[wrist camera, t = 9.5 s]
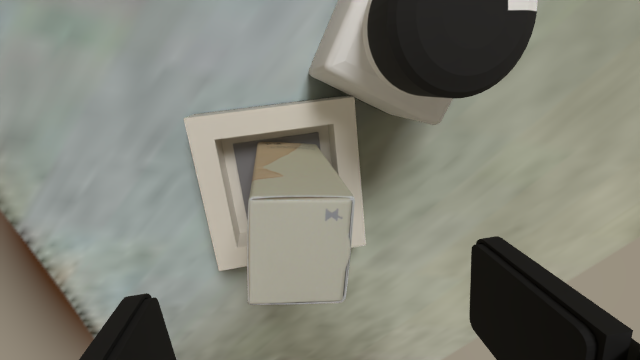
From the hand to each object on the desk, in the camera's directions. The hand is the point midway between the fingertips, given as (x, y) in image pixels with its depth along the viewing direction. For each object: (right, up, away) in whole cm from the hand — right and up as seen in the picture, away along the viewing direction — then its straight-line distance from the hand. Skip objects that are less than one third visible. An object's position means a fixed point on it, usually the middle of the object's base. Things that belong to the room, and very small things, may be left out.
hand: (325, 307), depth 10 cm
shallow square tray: (-3, +4, +15) cm, 16 cm away
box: (-3, +4, +14) cm, 15 cm away
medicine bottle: (+3, +13, +14) cm, 19 cm away
